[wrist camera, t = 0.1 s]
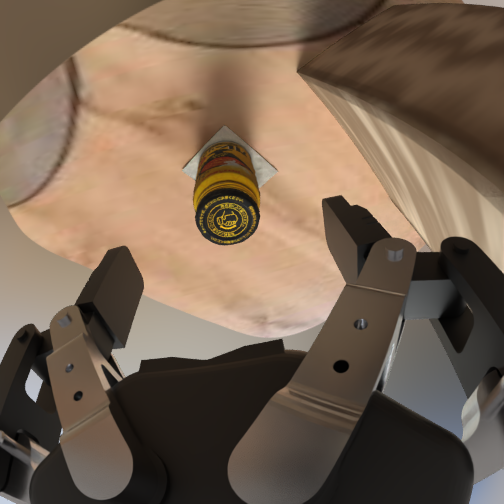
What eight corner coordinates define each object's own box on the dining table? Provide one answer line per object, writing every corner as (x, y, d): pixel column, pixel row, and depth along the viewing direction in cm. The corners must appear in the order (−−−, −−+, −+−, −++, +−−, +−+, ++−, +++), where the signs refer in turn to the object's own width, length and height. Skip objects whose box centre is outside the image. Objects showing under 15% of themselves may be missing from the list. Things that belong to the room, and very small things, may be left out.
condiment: (224, 124, 30) (225, 166, 20) (277, 171, 34) (300, 230, 25) (181, 169, 33) (166, 229, 23) (235, 210, 37) (241, 277, 28)
